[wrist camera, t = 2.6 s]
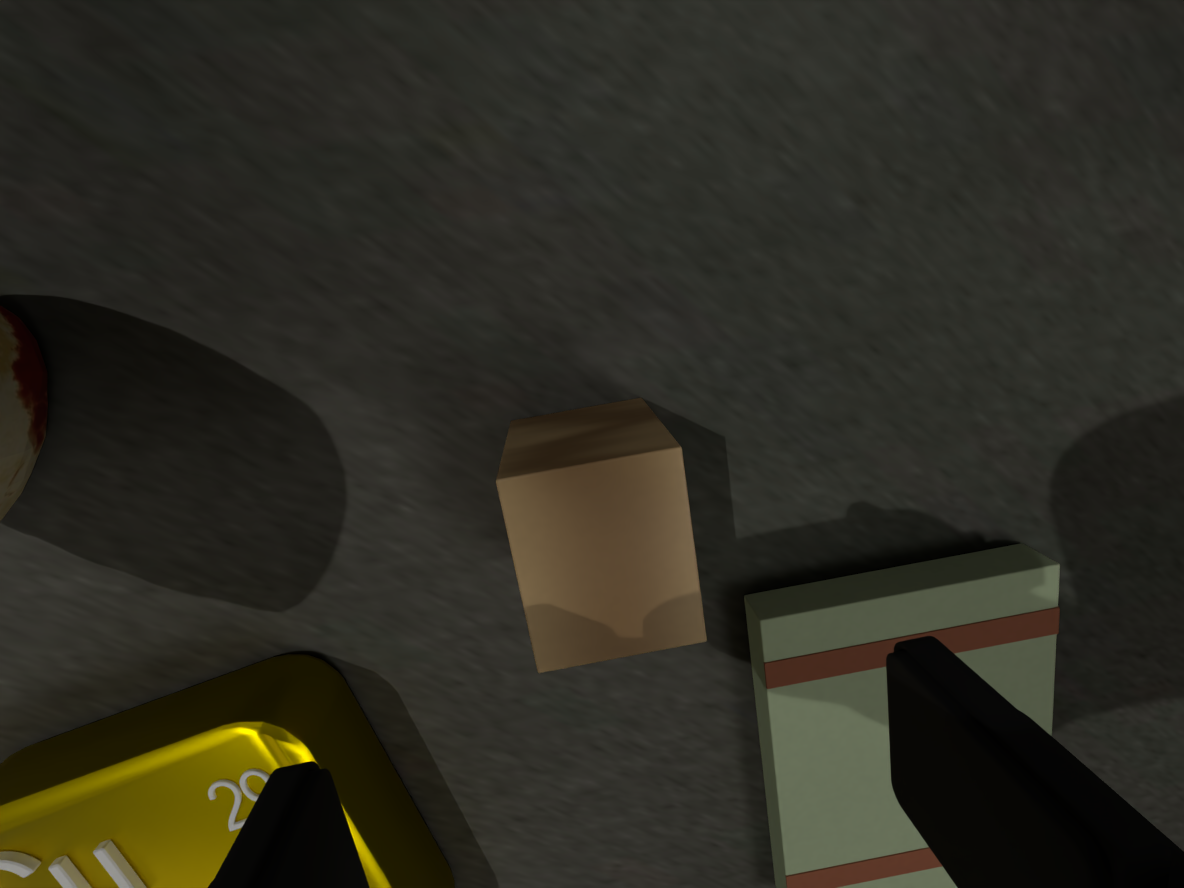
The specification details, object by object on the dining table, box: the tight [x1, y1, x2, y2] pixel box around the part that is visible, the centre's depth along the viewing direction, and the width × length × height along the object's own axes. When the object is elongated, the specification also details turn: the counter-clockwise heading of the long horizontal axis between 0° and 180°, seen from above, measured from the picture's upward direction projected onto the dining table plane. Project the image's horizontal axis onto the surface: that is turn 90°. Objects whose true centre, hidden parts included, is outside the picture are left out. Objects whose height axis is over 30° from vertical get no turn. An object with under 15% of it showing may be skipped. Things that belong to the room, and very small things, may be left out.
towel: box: [744, 544, 1060, 888], centre depth 27 cm, size 12×16×2 cm
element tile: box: [0, 654, 454, 888], centre depth 24 cm, size 15×15×5 cm
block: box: [496, 398, 707, 673], centre depth 20 cm, size 5×6×7 cm
